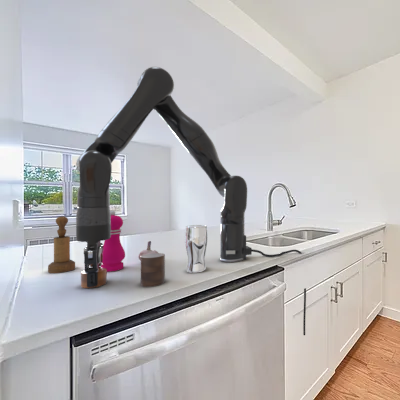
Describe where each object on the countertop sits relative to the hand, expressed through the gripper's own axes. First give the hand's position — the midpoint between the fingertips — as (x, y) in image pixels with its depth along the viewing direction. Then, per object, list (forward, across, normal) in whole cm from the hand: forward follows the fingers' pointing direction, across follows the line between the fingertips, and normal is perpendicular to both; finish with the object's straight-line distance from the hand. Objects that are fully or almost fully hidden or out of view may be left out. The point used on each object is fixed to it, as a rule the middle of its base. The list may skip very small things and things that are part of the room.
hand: (94, 282), depth 71 cm
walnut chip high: (-4, -7, -14) cm, 16 cm away
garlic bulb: (+1, +20, -14) cm, 24 cm away
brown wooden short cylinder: (0, 0, 0) cm, 0 cm away
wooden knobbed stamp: (+1, +23, +11) cm, 26 cm away
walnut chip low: (0, -7, -14) cm, 16 cm away
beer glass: (+1, 0, -27) cm, 27 cm away
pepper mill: (+1, +16, -3) cm, 16 cm away
